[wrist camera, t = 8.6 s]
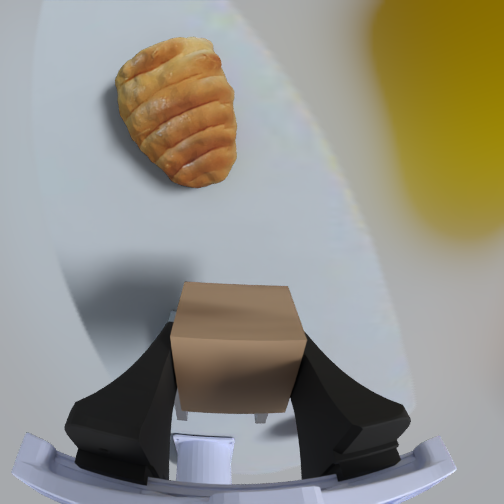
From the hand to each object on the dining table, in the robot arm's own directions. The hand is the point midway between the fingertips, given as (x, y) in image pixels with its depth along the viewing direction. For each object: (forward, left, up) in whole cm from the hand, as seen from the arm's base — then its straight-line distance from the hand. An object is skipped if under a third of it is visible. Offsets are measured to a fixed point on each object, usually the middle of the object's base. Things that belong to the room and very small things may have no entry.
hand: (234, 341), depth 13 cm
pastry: (+11, +4, -8) cm, 14 cm away
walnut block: (0, 0, -2) cm, 2 cm away
